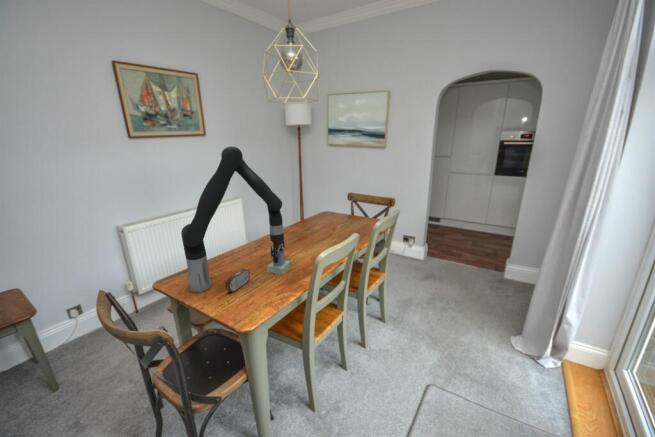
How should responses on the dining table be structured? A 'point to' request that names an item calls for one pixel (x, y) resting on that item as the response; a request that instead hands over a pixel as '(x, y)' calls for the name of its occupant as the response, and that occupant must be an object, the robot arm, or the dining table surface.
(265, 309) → the dining table surface
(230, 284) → the tin
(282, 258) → the slate block
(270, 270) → the sage tile
